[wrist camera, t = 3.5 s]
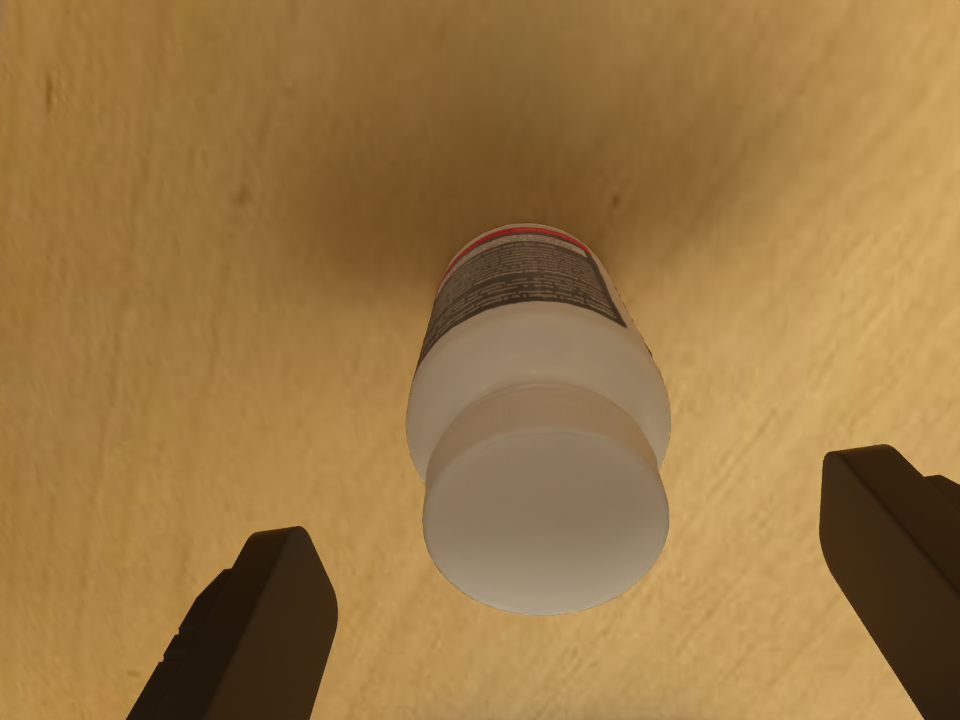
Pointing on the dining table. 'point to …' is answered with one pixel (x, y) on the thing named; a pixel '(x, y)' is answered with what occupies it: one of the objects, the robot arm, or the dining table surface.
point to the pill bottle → (538, 427)
